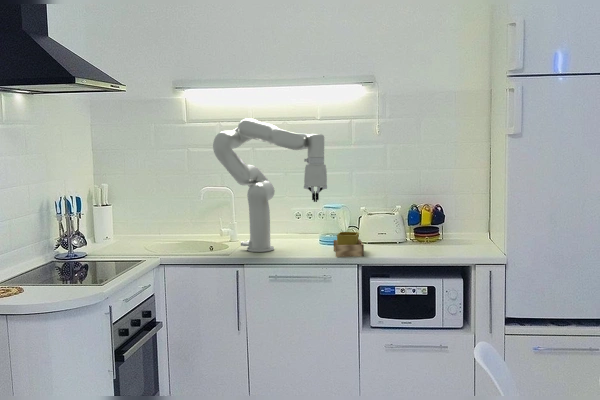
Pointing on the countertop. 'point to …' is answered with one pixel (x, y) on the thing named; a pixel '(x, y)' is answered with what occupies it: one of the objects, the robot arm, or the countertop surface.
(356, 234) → the flower pot
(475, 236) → the countertop surface
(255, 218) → the robot arm
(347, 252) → the frame
